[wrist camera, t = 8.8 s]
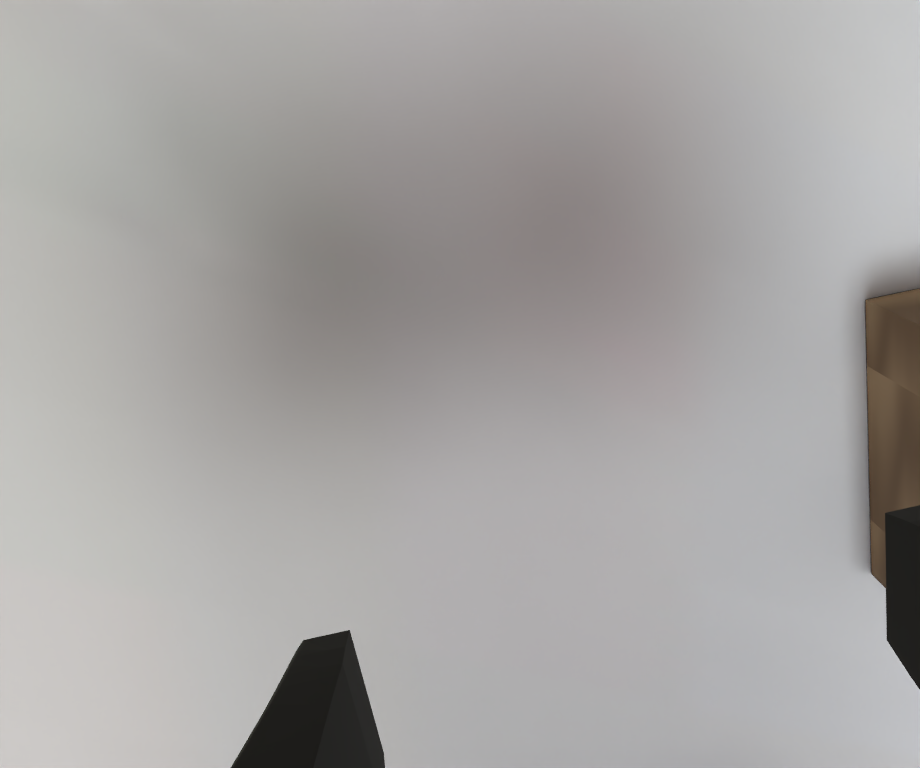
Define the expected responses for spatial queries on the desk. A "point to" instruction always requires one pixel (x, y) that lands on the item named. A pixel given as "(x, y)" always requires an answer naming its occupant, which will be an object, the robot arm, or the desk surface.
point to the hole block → (892, 412)
